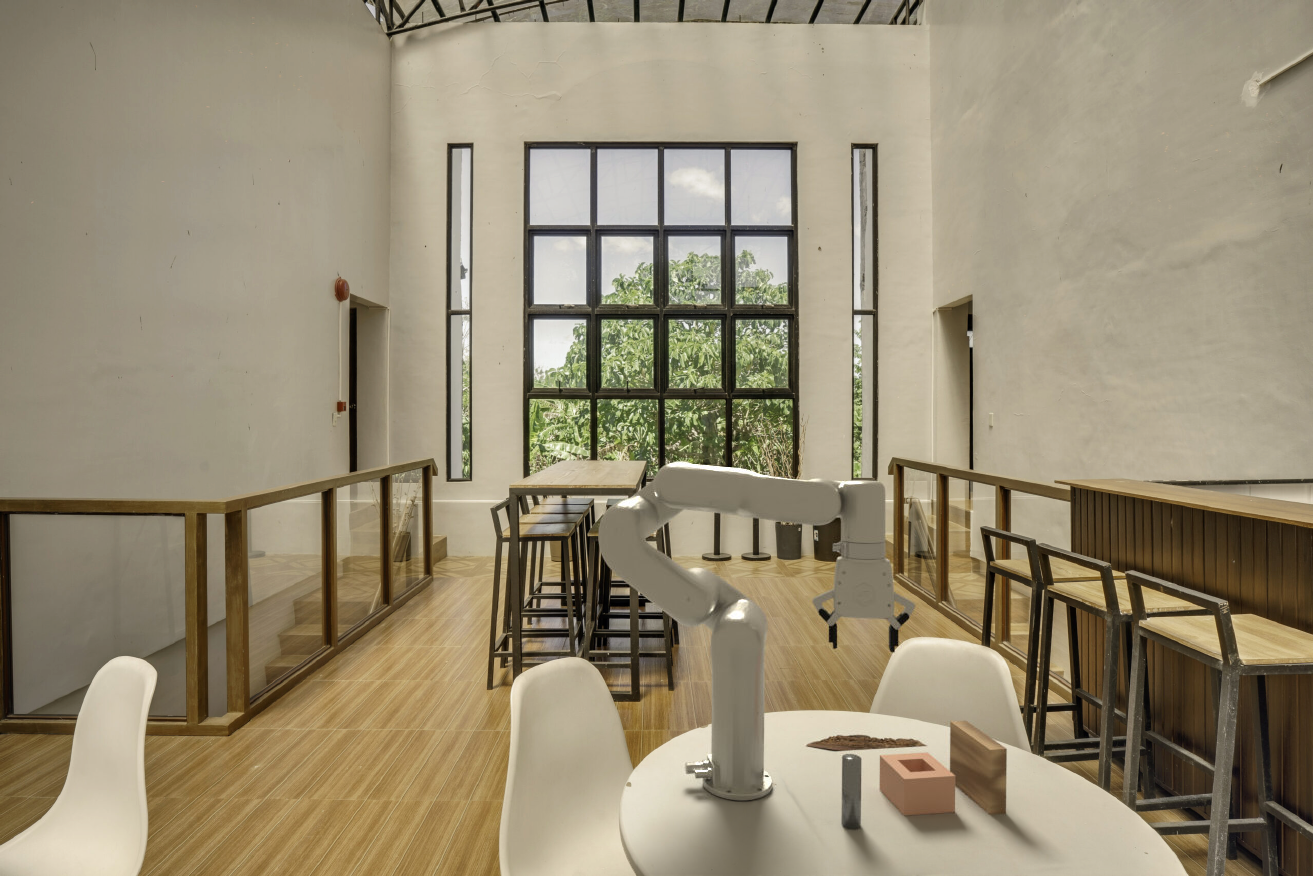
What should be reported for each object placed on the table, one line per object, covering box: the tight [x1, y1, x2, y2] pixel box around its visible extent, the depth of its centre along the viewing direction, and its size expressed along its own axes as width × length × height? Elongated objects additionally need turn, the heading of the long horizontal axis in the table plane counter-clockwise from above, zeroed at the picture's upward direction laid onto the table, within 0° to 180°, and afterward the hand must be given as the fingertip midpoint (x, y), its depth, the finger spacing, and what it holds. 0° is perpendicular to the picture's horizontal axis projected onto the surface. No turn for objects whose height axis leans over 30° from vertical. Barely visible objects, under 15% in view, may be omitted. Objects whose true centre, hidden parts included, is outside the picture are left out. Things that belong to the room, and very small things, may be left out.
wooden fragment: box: [805, 734, 928, 752], centre depth 149 cm, size 26×11×1 cm, turn 81°
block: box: [878, 752, 956, 816], centre depth 125 cm, size 9×9×6 cm
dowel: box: [840, 753, 862, 831], centre depth 117 cm, size 3×3×12 cm
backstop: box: [949, 720, 1008, 816], centre depth 126 cm, size 3×12×11 cm, turn 8°
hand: (863, 648), depth 128 cm, fingers open, 9 cm apart
